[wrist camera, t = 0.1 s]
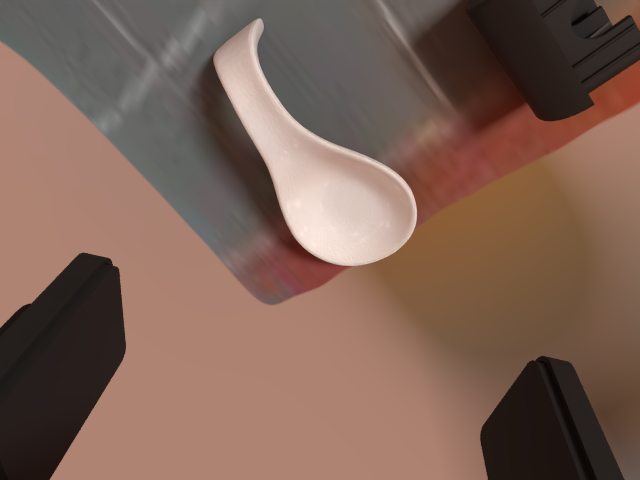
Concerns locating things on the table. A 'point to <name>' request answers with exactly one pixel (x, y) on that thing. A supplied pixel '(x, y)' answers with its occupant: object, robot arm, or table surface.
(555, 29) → the end cap
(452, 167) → the table surface
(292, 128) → the spoon rest
